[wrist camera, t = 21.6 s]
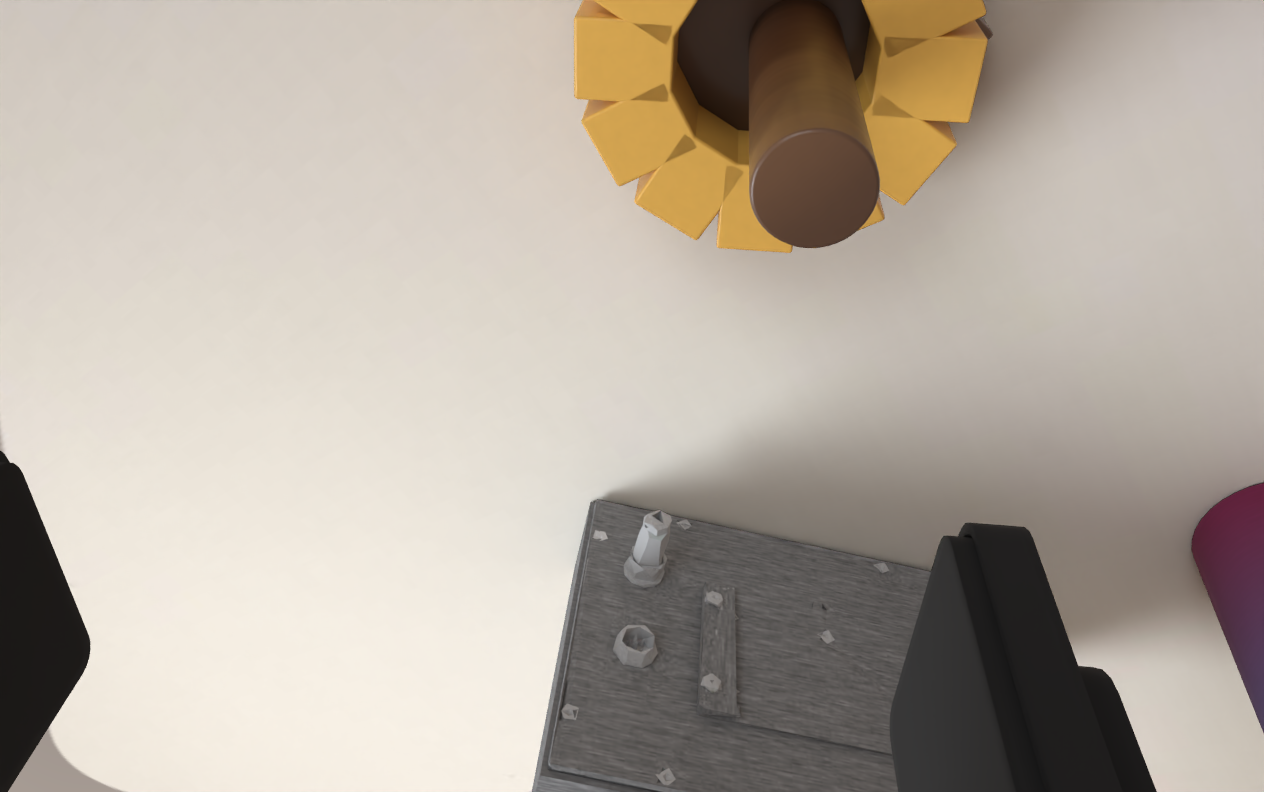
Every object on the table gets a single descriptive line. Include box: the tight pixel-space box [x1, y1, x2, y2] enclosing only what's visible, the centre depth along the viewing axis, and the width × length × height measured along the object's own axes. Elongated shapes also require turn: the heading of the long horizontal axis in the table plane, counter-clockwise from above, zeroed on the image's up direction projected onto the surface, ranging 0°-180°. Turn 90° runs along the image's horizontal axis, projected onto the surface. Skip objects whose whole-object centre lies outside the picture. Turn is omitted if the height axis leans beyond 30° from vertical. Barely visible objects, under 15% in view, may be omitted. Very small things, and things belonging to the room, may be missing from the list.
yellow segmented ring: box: [574, 0, 988, 253], centre depth 25 cm, size 10×10×2 cm
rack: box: [677, 0, 993, 248], centre depth 23 cm, size 7×7×10 cm
